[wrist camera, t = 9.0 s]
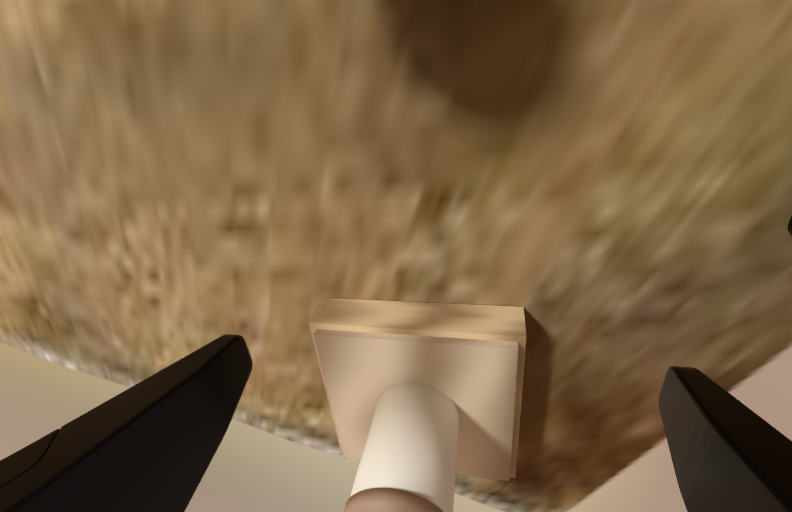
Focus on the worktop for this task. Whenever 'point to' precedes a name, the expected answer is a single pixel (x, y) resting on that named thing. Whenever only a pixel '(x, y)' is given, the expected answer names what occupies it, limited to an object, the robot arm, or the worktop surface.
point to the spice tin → (408, 453)
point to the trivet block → (426, 370)
